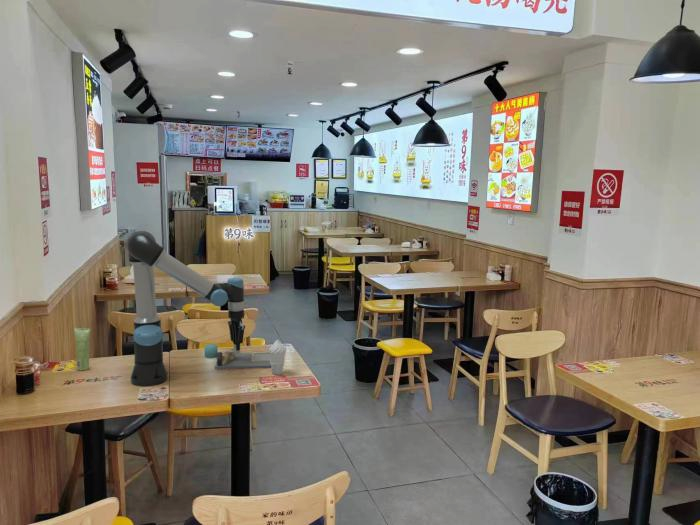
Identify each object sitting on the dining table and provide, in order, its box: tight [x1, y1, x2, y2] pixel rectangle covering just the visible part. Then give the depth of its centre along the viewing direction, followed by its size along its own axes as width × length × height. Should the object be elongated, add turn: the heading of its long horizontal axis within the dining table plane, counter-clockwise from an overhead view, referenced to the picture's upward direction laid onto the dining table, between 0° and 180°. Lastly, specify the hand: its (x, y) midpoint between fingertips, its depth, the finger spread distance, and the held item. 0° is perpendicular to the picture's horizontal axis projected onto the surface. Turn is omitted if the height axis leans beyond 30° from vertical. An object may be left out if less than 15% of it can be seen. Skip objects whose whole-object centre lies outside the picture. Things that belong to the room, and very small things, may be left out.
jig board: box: [214, 351, 272, 370], centre depth 256 cm, size 30×20×2 cm, turn 99°
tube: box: [73, 327, 91, 371], centre depth 239 cm, size 6×5×20 cm
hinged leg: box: [216, 348, 237, 365], centre depth 252 cm, size 14×3×6 cm, turn 160°
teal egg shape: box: [204, 343, 219, 359], centre depth 263 cm, size 6×6×6 cm
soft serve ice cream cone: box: [267, 339, 287, 376], centre depth 240 cm, size 8×8×16 cm
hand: (237, 356), depth 255 cm, fingers closed
